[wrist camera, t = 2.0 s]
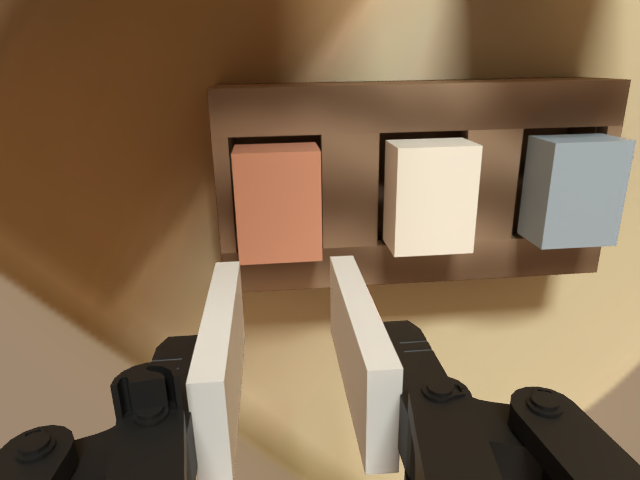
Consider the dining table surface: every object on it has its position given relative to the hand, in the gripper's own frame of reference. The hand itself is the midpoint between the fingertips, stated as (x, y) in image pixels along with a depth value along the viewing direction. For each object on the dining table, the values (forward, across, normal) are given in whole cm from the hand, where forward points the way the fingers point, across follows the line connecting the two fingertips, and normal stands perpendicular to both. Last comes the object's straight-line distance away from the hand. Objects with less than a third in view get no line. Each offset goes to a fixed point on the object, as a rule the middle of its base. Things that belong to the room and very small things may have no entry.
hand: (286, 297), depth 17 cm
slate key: (+14, +17, 0) cm, 22 cm away
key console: (+19, +8, 0) cm, 20 cm away
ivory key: (+14, +9, 0) cm, 16 cm away
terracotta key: (+14, 0, 0) cm, 14 cm away
